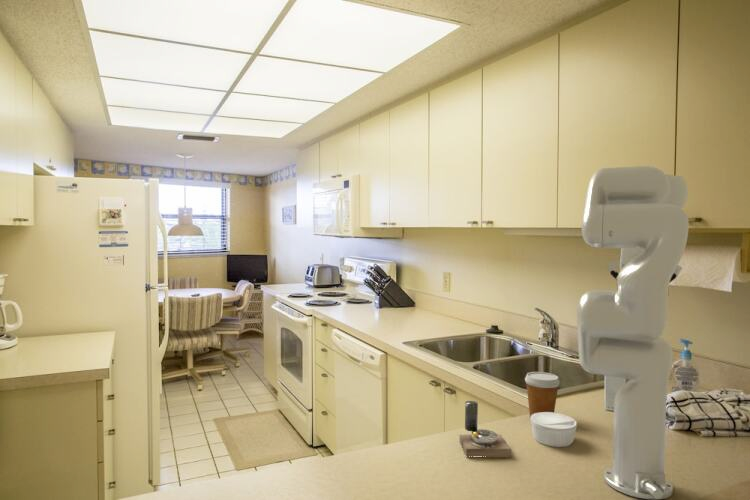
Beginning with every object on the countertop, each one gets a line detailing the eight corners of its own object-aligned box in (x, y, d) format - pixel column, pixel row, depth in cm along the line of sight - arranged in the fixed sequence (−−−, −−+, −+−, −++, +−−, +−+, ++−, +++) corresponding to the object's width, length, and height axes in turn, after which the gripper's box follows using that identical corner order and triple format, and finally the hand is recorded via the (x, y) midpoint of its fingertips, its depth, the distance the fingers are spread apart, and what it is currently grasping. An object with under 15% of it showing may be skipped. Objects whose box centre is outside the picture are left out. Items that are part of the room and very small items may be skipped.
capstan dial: (484, 448, 115) (484, 414, 115) (455, 437, 122) (456, 404, 122) (502, 440, 120) (502, 407, 120) (473, 429, 126) (474, 398, 126)
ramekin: (566, 453, 119) (566, 431, 119) (522, 440, 126) (522, 419, 126) (583, 439, 127) (583, 419, 127) (541, 428, 135) (541, 408, 134)
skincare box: (626, 413, 146) (627, 363, 146) (603, 410, 149) (604, 360, 148) (625, 404, 154) (626, 356, 153) (604, 401, 156) (605, 354, 156)
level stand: (510, 457, 116) (510, 446, 116) (466, 457, 116) (466, 446, 116) (500, 442, 125) (501, 432, 125) (459, 442, 124) (459, 432, 124)
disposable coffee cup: (548, 426, 135) (549, 382, 135) (517, 416, 143) (518, 375, 142) (565, 418, 142) (566, 376, 141) (535, 409, 149) (536, 369, 148)
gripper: (604, 231, 132) (602, 296, 132) (679, 231, 121) (678, 302, 121) (612, 232, 138) (610, 293, 138) (685, 232, 127) (683, 299, 127)
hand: (642, 297), depth 130 cm, fingers open, 9 cm apart
